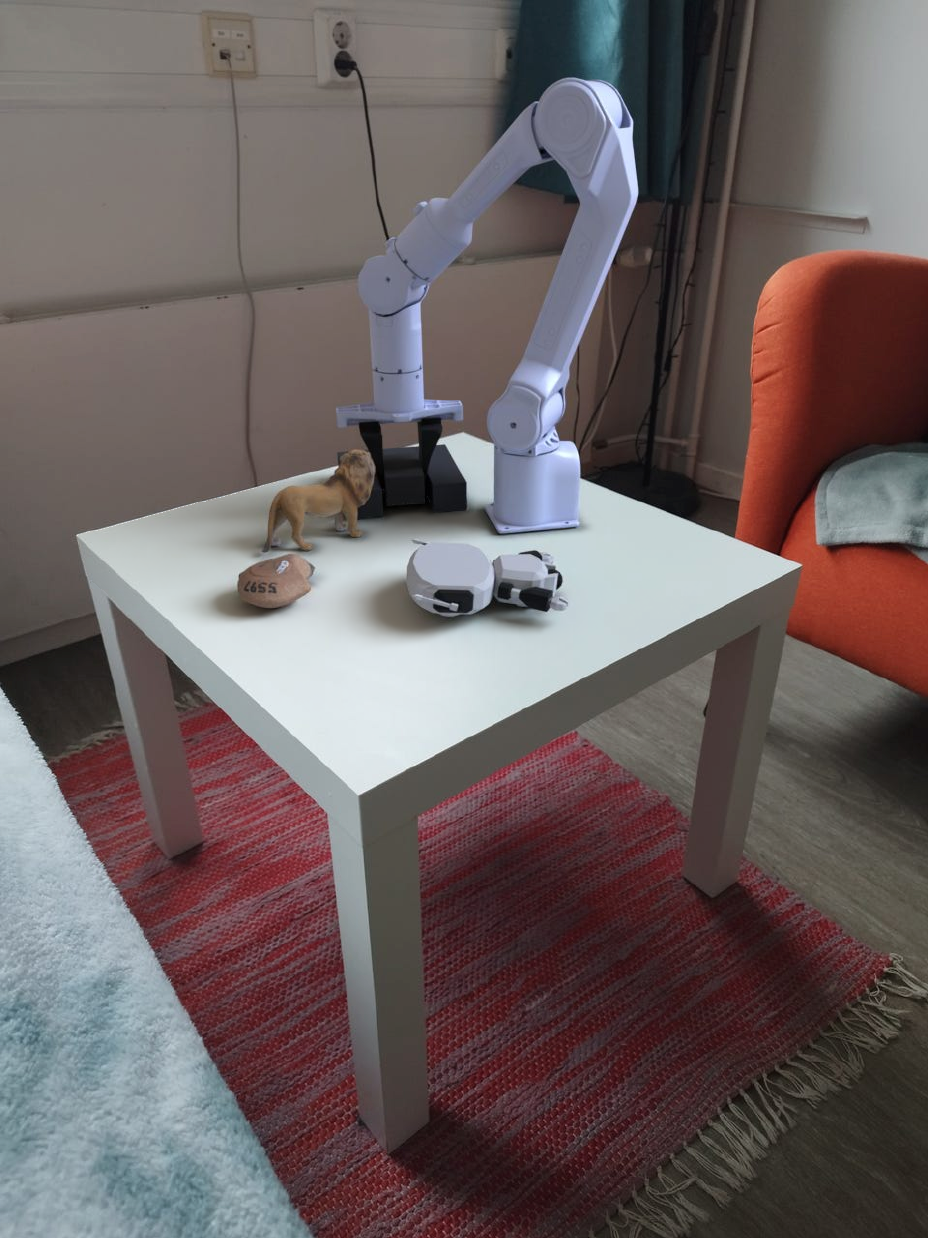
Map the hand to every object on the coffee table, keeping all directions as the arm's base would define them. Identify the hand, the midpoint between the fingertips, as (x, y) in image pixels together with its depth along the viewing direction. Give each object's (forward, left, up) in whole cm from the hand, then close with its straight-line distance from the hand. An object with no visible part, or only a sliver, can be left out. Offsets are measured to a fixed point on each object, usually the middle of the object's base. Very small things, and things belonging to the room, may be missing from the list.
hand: (402, 481), depth 108 cm
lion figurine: (+10, +8, -3) cm, 13 cm away
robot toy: (-4, +27, -3) cm, 27 cm away
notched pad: (0, -3, -3) cm, 4 cm away
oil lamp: (+15, +22, -3) cm, 26 cm away
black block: (0, 0, -1) cm, 1 cm away
